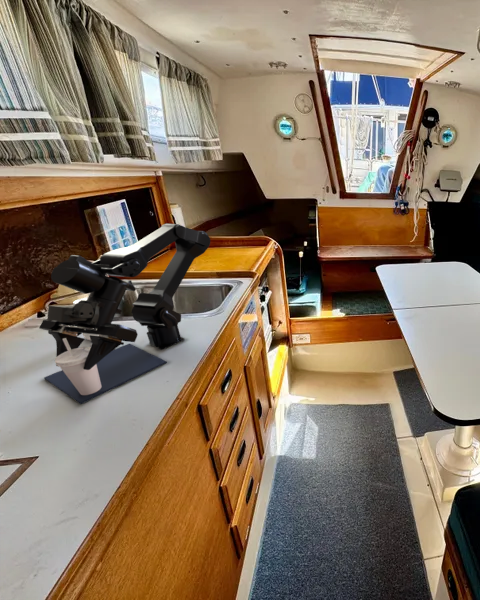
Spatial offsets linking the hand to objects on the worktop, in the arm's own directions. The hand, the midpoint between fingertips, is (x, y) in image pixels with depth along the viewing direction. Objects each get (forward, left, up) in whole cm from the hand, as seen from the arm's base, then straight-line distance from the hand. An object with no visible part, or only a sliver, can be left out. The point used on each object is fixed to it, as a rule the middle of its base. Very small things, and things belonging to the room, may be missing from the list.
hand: (72, 368), depth 70 cm
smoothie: (-1, 0, -7) cm, 7 cm away
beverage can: (-14, -28, -8) cm, 32 cm away
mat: (-7, -6, -8) cm, 12 cm away
